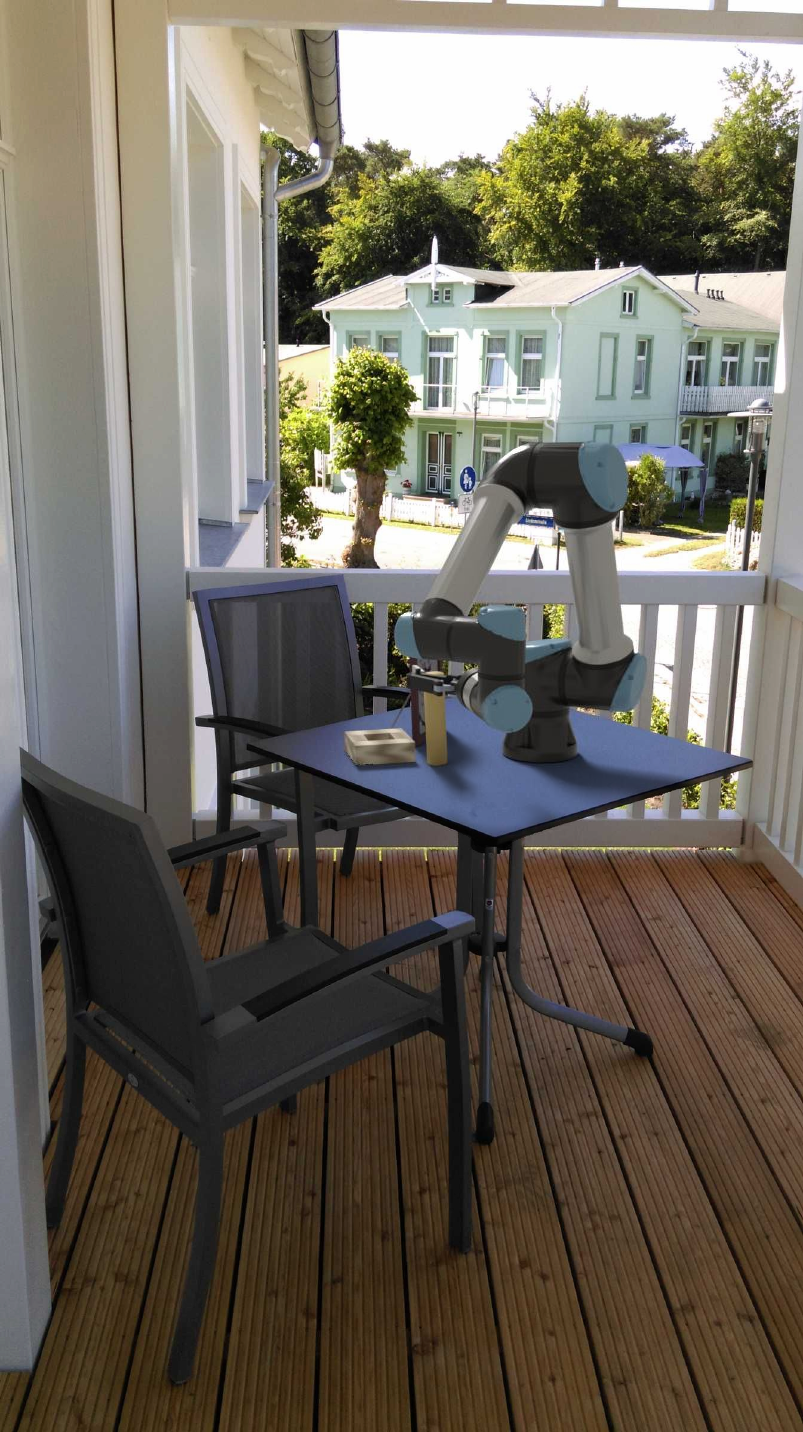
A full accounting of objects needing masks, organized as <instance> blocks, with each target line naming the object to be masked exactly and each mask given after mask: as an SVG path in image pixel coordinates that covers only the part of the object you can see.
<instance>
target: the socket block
mask: <svg viewBox="0 0 803 1432" xmlns="http://www.w3.org/2000/svg"><path fill="white" fill-rule="evenodd" d="M344 751H345V753H346V752H347V753H348V754H347V753H346V754H347V756H348V755H349V756H350V757H349V756H348V757H349V759H350V760H351V759H352V760H353V761H352V760H351V761H352V763H353V762H354V763H355V764H356V765H357V764H360V765H359V766H366V765H365V764H369V765H370V764H373V765H386V764H400V763H416V746H415V742H414V741H413V740H412V737H411V736H410V735H409V734H408V733H407V732H406V731H405V730H404V729H403V728H402V727H398V728H393V729H391V728H384V729H368V730H366V729H365V730H364V729H363V730H348V731H344ZM354 763H353V764H354ZM355 764H354V765H355ZM362 764H363V765H362ZM356 765H355V766H356ZM369 765H368V766H369Z"/></svg>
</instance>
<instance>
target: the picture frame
mask: <svg viewBox="0 0 803 1432" xmlns="http://www.w3.org/2000/svg"><path fill="white" fill-rule="evenodd" d="M408 658H409V659H408V660H409V661H408V662H409V673H411V672H412V665H417V666H418V667H420V668H421V669H422V670H424V671H425V673H426V672H433V671H438V672H443V671H444V669H443V668H444V666H443V663H444V662H443V661H441V660H430V659H425V660H422V659H418V658H413V657H408ZM443 673H444V672H443ZM409 699H410V715H411V718H410V719H411V734H412V735H411V736H412V737H411V739H412V740H413V741H414V742H415V748H416V747H420V745H423V743H425V742H426V725H425V701H424V692H422V691H418V690H414V689H410V691H409V694H408V696H407V697H406V699H405V702H404V703H403V705H402V707H401V709H400V711H399V712H398V714H397V716H396V718H395V720H394V721H393V723H392V725H391V727H390V729H394V727H395V725H396V723H397V721H398V720H399V718H400V716H401V714H402V712H403V710H404V709H405V707H406V706H407V703H408V701H409Z"/></svg>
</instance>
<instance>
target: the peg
mask: <svg viewBox="0 0 803 1432" xmlns="http://www.w3.org/2000/svg"><path fill="white" fill-rule="evenodd" d="M426 673H427V674H435V675H442V676H445V673H444V672H438V671H433V672H426ZM424 701H425V725H426V741H425V742H426V743H425V744H426V763H427V765H428V766H432V767H433V766H436V767H438V766H445V765H446V764H448V746H447V745H448V744H447V738H448V737H447V720H446V719H447V717H446V692H445V691H443V696H441V697H438V696H436V695H434V694H431V693H427V692H424Z"/></svg>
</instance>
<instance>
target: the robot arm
mask: <svg viewBox="0 0 803 1432" xmlns="http://www.w3.org/2000/svg"><path fill="white" fill-rule="evenodd" d="M629 483H630V481H629V473H628V467H627V464H626V460H625V458H624V457H623V453H622V452H621V451H620V450H619V448H617V447H616V446H615V445H614V444H612V443H610V442H597V441H593V440H586V441H560V442H559V441H558V442H556V441H555V442H554V441H553V442H549V441H547V442H545V441H544V442H543V441H534V442H533V441H532V442H528V443H526V444H522V445H520V446H518V447H515V448H514V449H512V450H511V451H509V452H508V453H506V454H505V455H504V456H502V457H501V458H499V459H498V460H497V461H496V462H495V463H494V464H493V465H492V466H491V467H490V468H489V469H488V471H487V472H486V473H485V474H484V475H483V477H482V478H481V479H480V481H479V483H478V485H477V486H476V488H475V491H474V492H473V494H472V503H473V506H472V508H471V511H470V513H469V515H468V516H467V518H466V520H465V522H464V524H463V526H462V528H461V530H460V532H459V534H458V536H457V537H456V540H455V542H454V544H453V546H452V548H451V549H450V551H449V554H448V555H447V558H446V559H445V562H444V563H443V565H442V567H441V569H440V571H439V573H438V575H437V577H436V579H435V581H434V583H433V584H432V586H431V589H430V590H429V592H428V595H427V596H426V599H425V600H424V602H423V604H422V606H421V608H420V609H419V611H415V610H414V611H407V612H404V613H403V614H401V615H400V616H399V617H398V619H397V621H396V623H395V627H394V635H393V636H394V643H395V646H396V648H397V651H398V652H399V653H400V654H401V655H402V656H404V657H408V658H409V657H413V658H418V659H422V660H425V659H430V660H441V661H442V662H453V663H454V662H455V663H461V664H462V663H464V664H470V665H471V664H473V665H477V667H473V668H470V669H468V670H466V671H465V672H464V673H462V674H456V673H455V674H454V673H451V674H447V675H444V676H442V675H435V674H427V673H425V671H424V670H422V669H421V668H420V667H418V666H417V665H412V672H411V673H410V672H409V673H406V676H405V677H406V682H405V683H406V689H414V690H418V691H422V692H427V693H431V694H434V695H436V696H438V697H441V696H443V691H445V694H447V695H452V696H456V698H457V699H458V701H459V703H460V704H461V705H462V706H463V707H464V708H465V709H467V711H470V712H471V713H473V714H474V715H476V716H477V717H478V718H479V719H480V720H482V721H483V722H484V723H485V724H486V725H487V726H488V727H489V728H491V729H494V730H496V731H499V732H501V733H504V736H503V739H502V745H501V747H502V748H501V749H502V750H501V753H502V754H503V756H505V757H507V758H509V759H512V760H516V761H522V762H528V763H559V762H563V761H569V760H571V759H574V758H575V757H577V756H578V741H577V737H576V735H575V731H574V728H573V726H572V721H571V718H570V709H571V708H580V709H589V710H597V711H607V712H609V713H613V712H614V713H629V712H631V711H633V710H634V709H635V708H636V707H637V705H639V701H640V699H641V697H642V694H643V691H644V689H645V685H646V679H647V671H648V660H647V657H646V656H645V655H644V654H643V653H641V652H635V648H634V646H635V645H634V641H633V640H632V639H631V637H630V636H629V635H627V634H625V633H624V632H625V629H624V622H623V620H624V619H623V612H622V605H621V604H622V603H621V595H620V593H621V592H620V585H619V576H618V567H617V558H616V551H615V542H614V541H615V540H614V532H613V531H614V530H613V522H614V521H616V519H617V518H618V517H619V515H620V510H621V509H623V507H624V506H625V505H626V502H627V499H628V495H629V490H628V489H629V488H628V485H629ZM532 509H533V510H534V509H541V510H551V511H552V518H553V523H554V525H555V526H556V527H557V528H560V529H561V530H563V534H564V541H565V548H566V549H565V550H566V555H567V564H568V572H569V578H570V585H571V586H570V588H571V594H572V600H573V601H572V602H573V608H574V614H575V615H574V617H575V622H576V631H577V638H578V640H576V642H575V643H574V645H573V642H572V640H571V639H569V638H561V637H560V638H546V639H538V640H530V641H527V637H528V635H527V624H526V623H527V622H526V612H525V611H524V610H523V608H521V607H518V606H516V605H485V606H481V607H480V608H479V610H478V615H477V616H474V615H473V616H469V613H470V611H471V610H472V607H473V606H474V603H475V601H476V599H477V597H478V595H479V593H480V592H481V589H482V587H483V585H484V582H485V581H486V579H487V577H488V575H489V573H490V571H491V569H492V567H493V565H494V563H495V560H496V559H497V557H498V555H499V553H500V551H501V548H502V546H503V544H504V543H505V540H506V538H507V536H508V534H509V532H510V530H511V528H512V526H513V525H516V524H517V523H519V522H520V521H521V520H522V518H523V516H524V515H525V513H526V512H527V511H530V510H532Z"/></svg>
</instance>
